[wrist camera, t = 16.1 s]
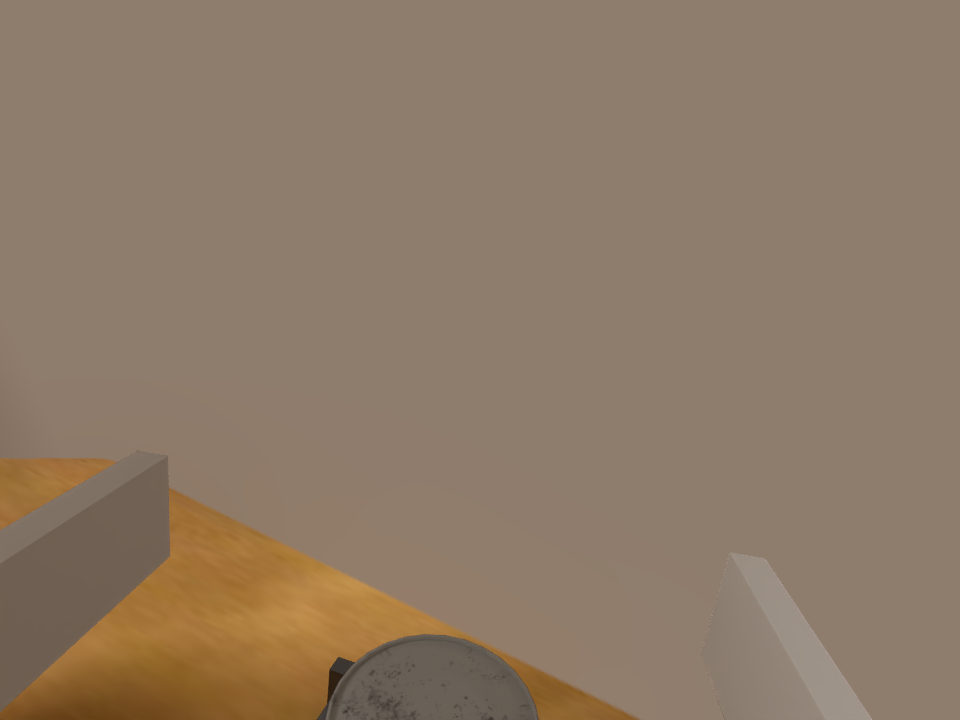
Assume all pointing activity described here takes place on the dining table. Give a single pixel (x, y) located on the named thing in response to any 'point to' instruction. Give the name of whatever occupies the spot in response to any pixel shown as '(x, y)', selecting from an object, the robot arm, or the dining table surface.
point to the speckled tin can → (431, 684)
